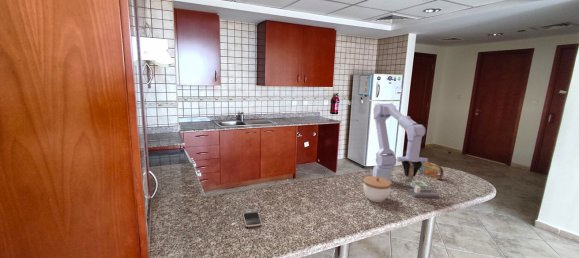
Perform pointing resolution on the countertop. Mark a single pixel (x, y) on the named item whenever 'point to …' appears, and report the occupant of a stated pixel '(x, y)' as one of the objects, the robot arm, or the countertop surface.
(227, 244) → the countertop surface
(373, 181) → the lidded bowl
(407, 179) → the tan rounded cylinder
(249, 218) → the cell phone
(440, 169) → the tin
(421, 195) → the switch panel
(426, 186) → the holder
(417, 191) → the switch tab
